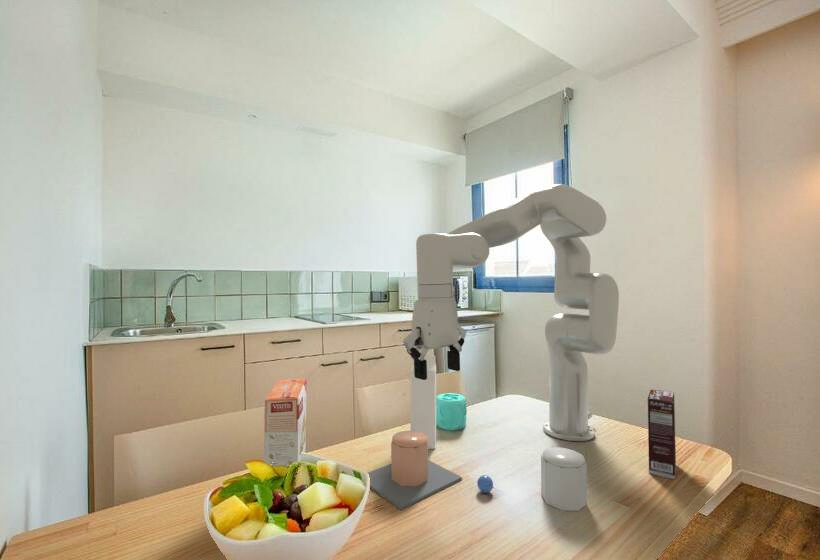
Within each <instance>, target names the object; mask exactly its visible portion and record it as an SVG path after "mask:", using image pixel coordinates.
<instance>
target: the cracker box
mask: <svg viewBox="0 0 820 560" xmlns="http://www.w3.org/2000/svg"><path fill="white" fill-rule="evenodd" d="M307 382H308V381H307V379H306V378H288V379H285V378H284V379H278V380H277V381H276V383H275V384H274V386H273V387H272V389H271V390H270V392H269V393H268V394H267V396H266V398H264V414H263V415H264V417H263V419H264V421H263V422H264V426H263V427H264V428H263V430H264V431H263V432H264V434H263V435H264V436H263V437H264V439H263V442H264V443H263V448H264V449H263V463H264V462H265V463H268V464H272V466H287V467H288V466H289V465H291V464H292V463H294V462H299V461H300V458H301V454H302V453H301V452H304V453H306V452H307V451H306V448H307V447H306V444H307V443H306V442H307V441H306V439H307V437H306V435H307V426H306V425H307ZM272 462H273V463H272Z"/></svg>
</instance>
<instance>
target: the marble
mask: <svg viewBox="0 0 820 560" xmlns="http://www.w3.org/2000/svg"><path fill="white" fill-rule="evenodd" d="M476 484H477V487H478V490H479V491H480V492H482V493H484V494H488V493H490V492H492V490H493V488H494V481H493V479H492V477H490V476H489V475H486V474H482V475H480V476H479V478H478V479H477V483H476Z"/></svg>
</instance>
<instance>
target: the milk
mask: <svg viewBox="0 0 820 560" xmlns="http://www.w3.org/2000/svg"><path fill="white" fill-rule="evenodd" d="M436 359H437V358H436V355H435V354H434V355H432V354H431V355H430V354H426V356H425V358H424V360H426V361H427V379H426V380H422V379H418V378H415V376H414V359H412V358H411V365H410V372H409V373H410V374H409V375H410V378H409V380H410V383H409V384H410V390H409V392H410V408H409V409H410V412H409V413H410V431H418V432H422V433H424V434H426V435H427V437H428V450H431V449H432V450H435V449H436V446H437V445H436V443H437V425H436V397H437V363H436Z"/></svg>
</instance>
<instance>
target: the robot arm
mask: <svg viewBox="0 0 820 560" xmlns="http://www.w3.org/2000/svg"><path fill="white" fill-rule="evenodd" d="M606 223H607V215H606V211H605V209H604V208H603V206H602V205H601V204H600V202H598V201H596V200H595V199H593V198H592V197H590V196H589V195H587V194H585V193H584V192H582V191H580V190H578V189H577V188H574V187H572V186H569V185H566V184H563V183H557V184H553V185H548V186H545V187H540V188H537V189H533V190H529V191H527V192H526V193H524V194H522V195H520V196H518V197H517V198H514V199H513V200H511V201H509V202H508V203H506V204H505V205H502V206H500V207H499V208H497V209H495V210H492V211H490V212H488V213H486V214H484V215H483V216H480V217H477V218H476V219H474V220H472V221H470V222H469V221H468V223H466V224H463V225H461V226H458V227H457V228H455V229H453V230H451V231H450V232H447V233H441V232H440V233H439V232H437V233H436V232H435V233H425V234H424V233H423V234H420V235H419V236H418V237H417V239H416V242H415V248H416V250H415V251H416V278H417V280H416V282H417V283H416V284H417V300H416V299H415V300H414V304H413V309H412V317H411V332H410V334H408V335H407V336H406V337H404V339H403V341H402V342H403V346H404V347H405V349H406V353H408V354H409V355H410V358H411V360H412V359H414V376H415V378H418V379H422V380H426V379H427V361H426V360H424V358H425V356H426V355H428V352H429V350H435V349H439V348H444V347H447V348H448V350H447V355H446V356H447V359H446V360H447V361H446V363H447V369H448V370H451V371H454V372H455V371H456V372H459V371H460V370H461V357H460V356H461V352H462V349H463V348H462V347H463V345H464V344H465V339H466V336H467V330H466V329H465V328H464V327H462V326H460V325H459V315H458V314H459V313H458V308H457V307H458V306H457V303H456V299H455V297H454V292H455V291H456V290H455V287H454V269H472V268H477V267H480V266H481V265H483V264H484V263H485V262H487V260H488V259H489V255H490V249H492V248H496V247H500V246H504V245H507V244H510V243H512V242H515V241H516V240H518V239H519V238H521V237H523V236H524V235H525V234H527V233H528V232H530V231H532V230H534V229H535V228H536V227H538V226H539V225H540V230H541V233H542V234H543V235H544V236H545V238H546V239H547V240H548V241H549V243H550V244H551V246H552V248H553V250H554V252H555V257H556V262H555V264H556V266H555V278H554V291H553V293H554V294H553V295H554V297H553V298H554V301H555V302H556V304H557V305H558V306H559V307H562V308H565V309H569V310H570V309H571V310H572V309H573V310H584V311H585V310H587V311H588V315H587V314H578V313H563V312H561V313H557V314H554V315H552V316H551V317H549V318H548V319H547V321H546V323H545V325H544V326H545V327H544V334H545V335H544V336H545V339H546V345H547V350H548V352H547V353H548V364H549V365H548V367H549V368H548V374H549V375H548V377H549V378H548V379H549V380H548V382H549V384H548V390H549V391H548V393H549V394H548V395H549V396H548V397H549V399H548V400H549V401H548V403H549V405H548V406H549V412H548V413H549V418H548V419H549V420H548V421H545V422H544V423H543V424H542V425H543V431H544V432H545V433H546V434H547V435H549V436H550V437H553V438H556V439H560V440H564V441H571V442H586V441H590V440H592V439H593V438H594V437H595V429H593V428H592V427H591V426H589V420H590V419H592V417H593V414H592V412H591V411H589V403H588V402H589V401H588V400H589V391H588V390H589V385H588V383H589V381H588V380H589V379H588V378H589V375H588V373H589V372H588V371H589V370H588V368H589V367H588V365H587V361H586V359H585V357H584V355H583V353H584V354H585V353H586V354H591V355H597V356H599V355H600V356H601V355H603V356H604V355H607V354H609V353H610V352H612V350H613V348H614V346H615V344H616V339H617V330H618V320H619V319H618V317H619V304H620V303H619V302H620V301H619V300H620V299H619V297H620V292H619V291H620V290H619V287H618V284H617V282H616V280H615V279H614V277H613V276H611V275H609V274H608V273H605V272H591V253H590V250H589V248H588V247H587V245H586V244H585V243H584V242H583V240H582V239H581V238H585V237H591V236H595V235H597V234H600V233H601V232H602V231H603V230H604V229H605V226H606Z"/></svg>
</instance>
